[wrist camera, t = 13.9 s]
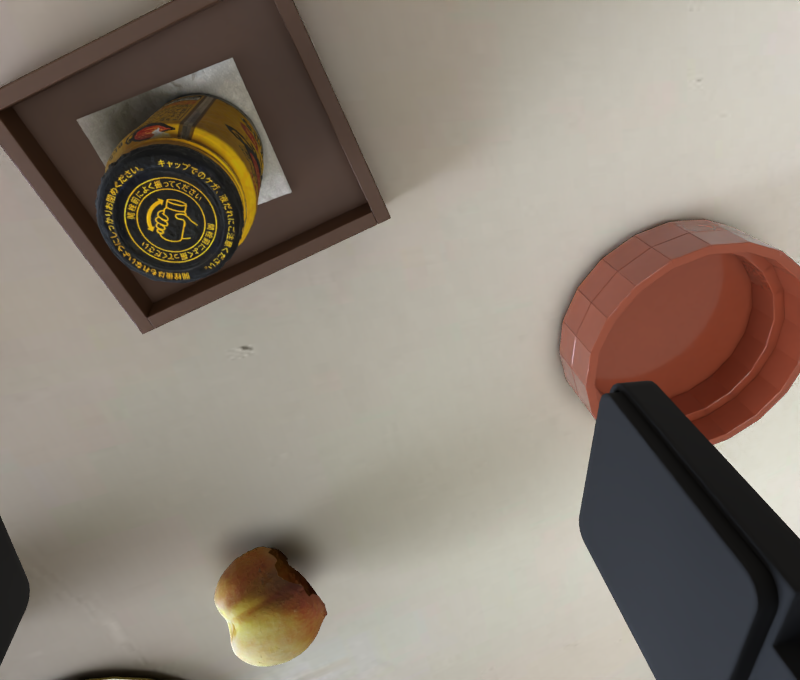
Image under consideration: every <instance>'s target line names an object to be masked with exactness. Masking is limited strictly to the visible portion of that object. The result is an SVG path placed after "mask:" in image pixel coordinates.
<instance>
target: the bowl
mask: <svg viewBox="0 0 800 680" xmlns="http://www.w3.org/2000/svg"><path fill="white" fill-rule="evenodd" d="M559 352H560V353H559V354H560V358H561V362H562V366H563V370H564V374H565V378H566V380H567V382H568V383H569V384H570V386H571V387H572V388H573V390H574V391H575V392H576V394H577V395H578V397H579V398H580V399H581V401H582V402H583V403H584V405H585V406H586V407H587V409H588V410H589V412H590V413H591V414H592V416H593V417H594V418H595V420H596V419H597V413H598V408H599V402H600V399H601V397H602V395H603V394H605V393H609V392H610V389H611V388H612V386H613V385H614V384H616V383H626V382H637V381H653V382H654V383H655V384H657V385H658V386H659V387H660V389H661V390H662V391H663V392H664V393H665V394H666V395H667V396H668V397H669V398H670V399H671V400H672V402H673V403H674V404H675V405H676V406H677V407H678V408H679V409H680V410H681V411H682V412H683V413H684V414H685V416H686V417H687V418H688V419H689V420H690V421H691V422H692V423H693V424H694V425H695V426H696V427H697V429H698V430H699V431H700V432H701V433H702V434H703V435H704V436H705V437H706V438H707V439H708V440H709V441H710V443H711V444H712V445H714V444H717V443H719V442H722V441H725V440H727V439H729V438H731V437H733V436H734V435H736V434H737V433H739V432H741V431H742V430H744V429H745V428H747V427H748V426H750V425H752V424H753V423H755V422H756V421H758V420H759V419H760V418H761V417H762V416H763V415H764V414H766V413H767V412H768V411H769V410H770V409H771V408H772V407H773V406H774V405H775V404H776V403H777V402H778V401H779V400H780V399H781V398H782V397H783V396H784V395H785V393H787V392H788V390H789V389H790V387H791V385H792V384H793V382H794V381H795V379H796V378H797V376H798V375H799V373H800V266H799V265H798V264H797V263H795V262H794V261H793V260H792V259H791V258H790V257H788V256H787V255H786V254H785V253H784V252H783V251H781V250H779V249H777V248H775V247H773V246H771V245H769V244H767V243H765V242H763V241H761V240H759V239H756V238H755V237H753V236H750V235H748V234H746V233H744V232H742V231H740V230H738V229H736V228H734V227H731V226H727V225H724V224H720V223H717V222H714V221H710V220H705V219H699V220H685V221H671V222H667V223H665V224H662V225H660V226H657V227H654V228H652V229H649V230H647V231H644V232H641V233H639V234H636V235H634V236H632V237H631V238H630V239H628V240H627V241H626V242H624V243H623V244H621V245H620V246H619V247H617V248H616V249H615V250H613V251H612V252H610V253H609V254H608V255H606V256H605V257H603V259H601V260H600V261H599V262H598V264H597V265H596V266H595V267H594V269H593V270H592V271H591V272H590V273H589V275H588V276H587V277H586V278H585V279H584V281H583V282H582V283H581V284H580V285H579V287H578V289H577V290H576V292H575V295H574V297H573V299H572V301H571V304H570V306H569V308H568V310H567V312H566V315H565V317H564V319H563V324H562V332H561V341H560V349H559Z"/></svg>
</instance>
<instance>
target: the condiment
mask: <svg viewBox="0 0 800 680" xmlns="http://www.w3.org/2000/svg"><path fill="white" fill-rule="evenodd" d="M77 122H78V123H79V125H80V126H81V128H82V130H83V132H84V133H85V134H86V136H87V137H88V139H89V140H90V142H91V144H92V146H93V147H94V149H95V150H96V152H97V154H98V155H99V157H100V159H101V160H102V162H103V164H104V165H105V167H106V168H105V173H104V175H103V177H101V184H100V185H99V186H98V189H97V198H96V200H95V207H96V209H97V213H96V217H97V223H98V227H99V229H100V231H101V234H102V236H103V238H104V240H105V241H106V243H107V244H108V246H109V248H110V250H111V251H112V252H113V253H114V254H115V256H116V257H117V258H118V259H119V260H120V261H122V262H123V264H124V265H126V266H127V267H128V268H129V269H131V270H133V271H135V272H137V273H139V274H141V275H143V276H145V277H147V278H149V279H151V280H154V281H162V282H173V283H188V282H193V281H196V280H199V279H201V278H205V277H207V276H209V275H211V274H213V273H215V272H217V271H218V270H220V269H221V267H223V266H224V264H225V262H227V261H228V260H230V259H231V258H232V256H233V254H234V253H235V251H236V250H237V247H238V246H239V245H240V244H241V243H242V242H243V241H244V240H245V238H246V237H247V235H248V233H249V231H250V229H251V226H252V225H253V222H254V220H255V216H256V212H257V207H258V205H259V204H262V203H264V202H267V201H270V200H272V199H275V198H277V197H280V196H283V195H285V194H288V193H291V192H292V191H291V189H290V186H289V184H288V182H287V180H286V177H285V175H284V173H283V170H282V168H281V166H280V164H279V161H278V159H277V157H276V154H275V152H274V150H273V148H272V145H271V143H270V141H269V138H268V136H267V134H266V132H265V129H264V127H263V125H262V123H261V120H260V118H259V116H258V114H257V111H256V109H255V107H254V105H253V102H252V100H251V98H250V96H249V93H248V91H247V90H246V87H245V85H244V83H243V80H242V78H241V76H240V73H239V71H238V69H237V67H236V64H235V62H234V60H233V57H232V58H230V59H227V60H225V61H222V62H220V63H217V64H215V65H212V66H210V67H207V68H205V69H202V70H200V71H197V72H195V73H192V74H190V75H187V76H185V77H182V78H180V79H177V80H174V81H172V82H170V83H167V84H165V85H162V86H160V87H157V88H155V89H152V90H150V91H147V92H145V93H142V94H140V95H137V96H135V97H132V98H130V99H127V100H124V101H122V102H120V103H117V104H114V105H112V106H109V107H107V108H105V109H102V110H100V111H97V112H95V113H92V114H90V115H87V116H85V117H82V118H80V119H77Z"/></svg>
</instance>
